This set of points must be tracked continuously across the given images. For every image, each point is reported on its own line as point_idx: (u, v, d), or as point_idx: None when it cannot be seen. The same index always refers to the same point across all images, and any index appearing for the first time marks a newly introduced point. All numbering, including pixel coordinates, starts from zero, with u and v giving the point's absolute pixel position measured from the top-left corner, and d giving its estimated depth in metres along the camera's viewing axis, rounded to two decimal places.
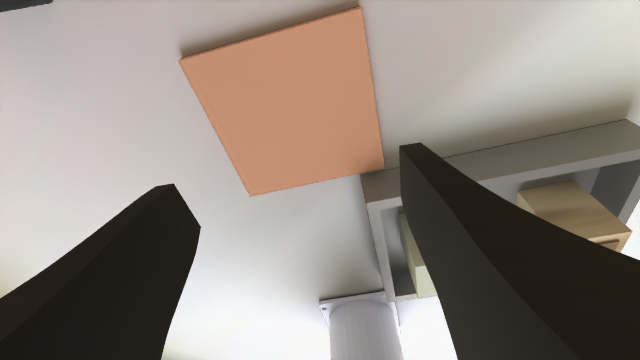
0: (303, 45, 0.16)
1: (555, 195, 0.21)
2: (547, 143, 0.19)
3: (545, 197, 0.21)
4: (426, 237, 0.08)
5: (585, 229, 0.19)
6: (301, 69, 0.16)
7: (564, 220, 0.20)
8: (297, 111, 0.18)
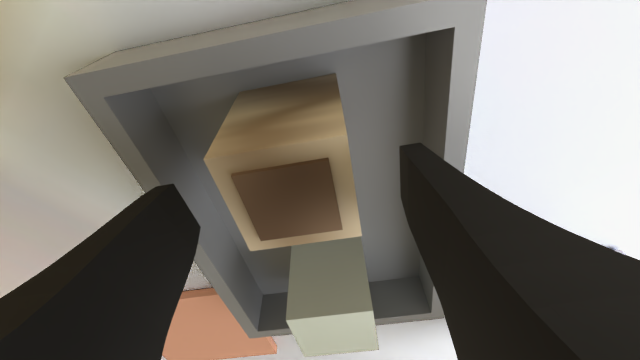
0: None
1: None
2: None
3: None
4: (426, 237, 0.08)
5: None
6: None
7: None
8: (191, 332, 0.24)
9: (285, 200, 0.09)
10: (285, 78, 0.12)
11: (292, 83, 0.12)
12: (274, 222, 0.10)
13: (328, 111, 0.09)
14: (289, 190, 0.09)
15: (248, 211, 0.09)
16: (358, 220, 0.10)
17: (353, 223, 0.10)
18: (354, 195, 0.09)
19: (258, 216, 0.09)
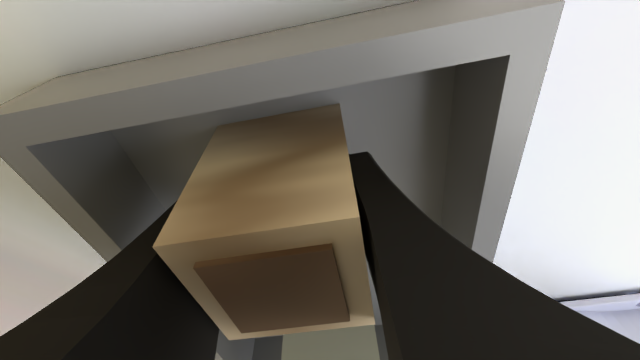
0: None
1: None
2: None
3: None
4: (366, 245, 0.08)
5: None
6: None
7: None
8: None
9: (271, 292, 0.06)
10: (276, 109, 0.09)
11: (284, 116, 0.09)
12: (258, 315, 0.07)
13: (330, 167, 0.07)
14: (277, 282, 0.06)
15: (222, 302, 0.07)
16: (371, 309, 0.07)
17: (365, 312, 0.07)
18: (367, 284, 0.07)
19: (236, 309, 0.07)
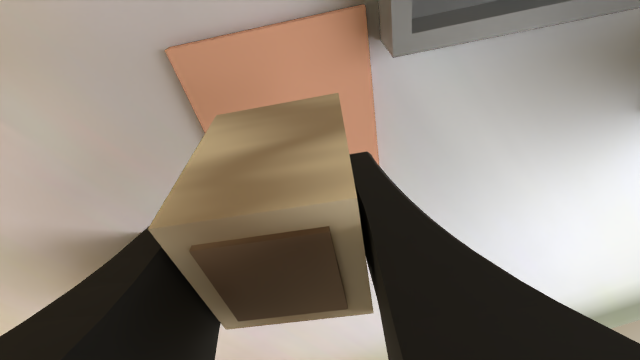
0: (209, 107, 0.17)
1: None
2: None
3: None
4: (366, 245, 0.08)
5: None
6: (232, 110, 0.17)
7: None
8: None
9: (268, 277, 0.06)
10: None
11: (282, 105, 0.09)
12: (255, 302, 0.07)
13: (328, 152, 0.07)
14: (274, 267, 0.06)
15: (218, 288, 0.07)
16: (369, 296, 0.07)
17: (363, 299, 0.07)
18: (365, 269, 0.07)
19: (233, 295, 0.07)
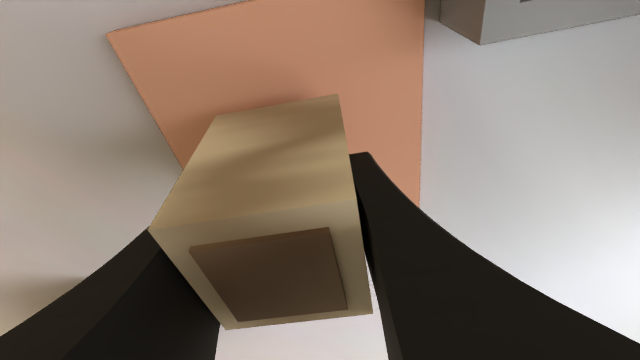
0: (180, 121, 0.11)
1: None
2: None
3: None
4: (366, 245, 0.08)
5: None
6: None
7: None
8: None
9: (268, 278, 0.06)
10: None
11: (282, 106, 0.09)
12: (254, 302, 0.07)
13: (328, 153, 0.07)
14: (273, 267, 0.06)
15: (218, 289, 0.07)
16: (369, 297, 0.07)
17: (362, 300, 0.07)
18: (364, 270, 0.07)
19: (232, 296, 0.07)
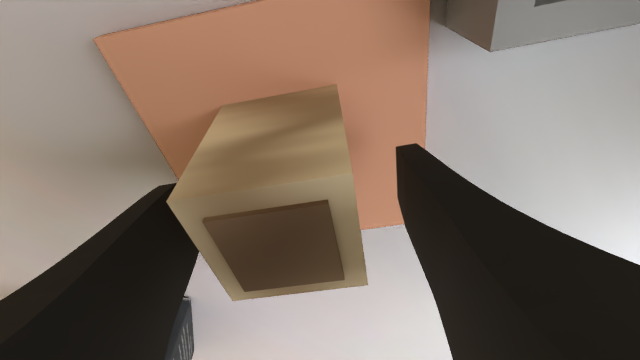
0: (173, 128, 0.11)
1: None
2: None
3: None
4: (422, 237, 0.08)
5: None
6: None
7: None
8: None
9: (272, 248, 0.07)
10: None
11: (284, 96, 0.10)
12: (260, 272, 0.08)
13: (327, 136, 0.07)
14: (278, 238, 0.07)
15: (227, 259, 0.07)
16: (364, 268, 0.08)
17: (358, 272, 0.08)
18: (360, 242, 0.07)
19: (240, 266, 0.07)
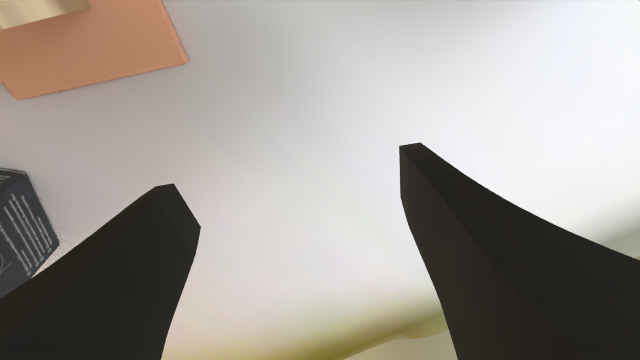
0: None
1: None
2: None
3: None
4: (426, 237, 0.08)
5: None
6: None
7: None
8: None
9: None
10: None
11: None
12: None
13: None
14: None
15: None
16: None
17: None
18: None
19: None
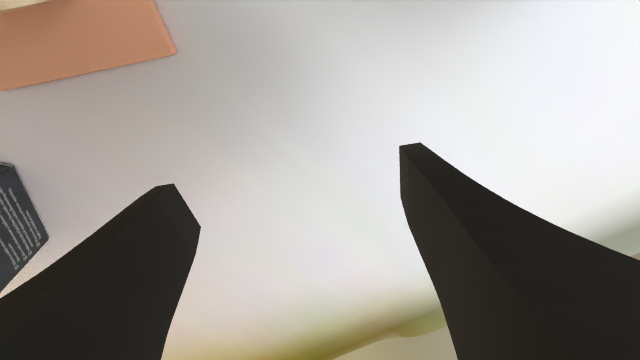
0: None
1: None
2: None
3: None
4: (426, 236, 0.08)
5: None
6: None
7: None
8: None
9: None
10: None
11: None
12: None
13: None
14: None
15: None
16: None
17: None
18: None
19: None
